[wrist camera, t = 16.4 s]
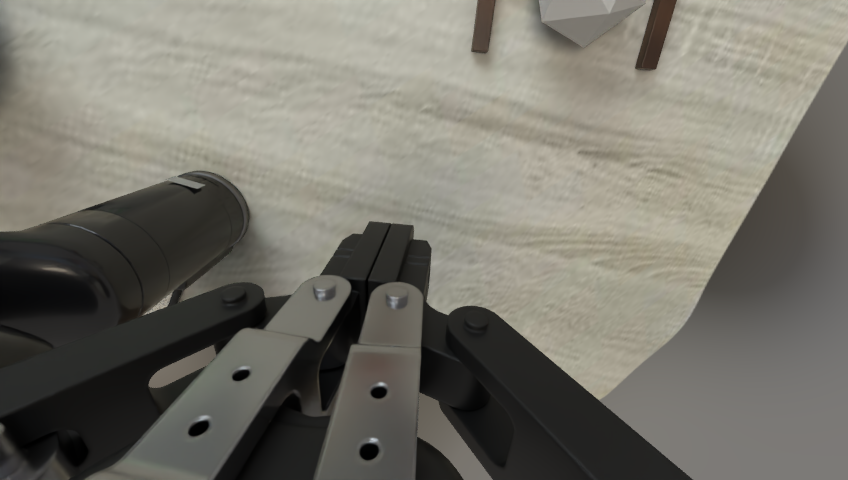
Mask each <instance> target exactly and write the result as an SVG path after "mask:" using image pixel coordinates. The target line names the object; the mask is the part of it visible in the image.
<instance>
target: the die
mask: <svg viewBox="0 0 848 480" xmlns="http://www.w3.org/2000/svg"><path fill="white" fill-rule="evenodd" d="M644 4H645V0H539V5H540V13H541V20H542V22H543V23H545V24H546V25H548V26H549V27H551V28H553V29H554V30H556V31H558V32H559V33H561V34H562V35H564V36H566V37H567V38H569V39H571V40H572V41H574V42H575V43H577V44H579V45H580V46H582V47H586V46H587V45H588V44H590V43H591V42H593V41H594V40H595V39H597V38H598V37H600V36H601V35H602V34H604V33H605V32H607V31H608V30H609V29H611V28H612V27H613V26H615V25H616V24H618V23H619V22H620V21H622V20H623V19H625V18H626V17H627V16H629V15H630V14H632V13H633V12H634V11H636V10H637V9H638V8H640V7H641V6H643V5H644Z"/></svg>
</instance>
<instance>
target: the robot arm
mask: <svg viewBox="0 0 848 480" xmlns="http://www.w3.org/2000/svg"><path fill="white" fill-rule="evenodd" d="M166 180H168V181H165V182H162V183H159V184H156V185H153V186H150V187H147V188H144V189H141V190H138V191H135V192H133V193H130V194H127V195H124V196H121V197H118V198H115V199H112V200H109V201H106V202H104V203H101V204H98V205H95V206H92V207H89V208H86V209H83V210H80V211H78V212H75V213H72V214H69V215H66V216H63V217H60V218H57V219H55V220H52V221H49V222H46V223H43V224H40V225H38V226H34V227H31V228H28V229H25V230H22V231H9V232H0V480H463V478H462V477H461V475H460V474H459V472H458V471H457V469H456V468H455V467H454V466H453V465H452V463H451V462H450V461H449V460H448V459H447V458H446V457H445V456H444V455H443V454H442V453H441V452H440V451H439V450H437V449H436V448H434V447H433V446H432V445H430V444H429V443H427V442H426V441H424V440H422V439H420V438H418V437H417V430H418V409H419V392H420V393H422V394H425V395H427V396H429V397H432V398H434V399H436V400H438V401H439V405H440V408H441V410H442V412H443V413H444V414H445V416H446V417H447V418H448V420H449V421H450V423H451V424H452V425H453V426H454V428H455V429H456V431H457V432H458V433H459V435H460V436H461V437H462V439H463V440H464V441H465V443H466V444H467V445H468V447H469V448H470V449H471V451H472V452H473V453H474V455H475V456H476V458H477V459H478V460H479V461H480V463H481V464H482V466H483V467H484V468H485V469H486V471H487V472H488V474H489V475H490V476H491V478H492V479H493V480H692V479H691V478H690V477H689V476H688V475H686V474H685V473H684V472H683V471H682V470H681V469H680V468H678V467H677V466H676V465H675V464H674V463H672V462H671V461H670V460H669V459H668V458H666V457H665V456H664V455H663V454H661V452H659V451H658V450H657V449H656V448H655V447H653V446H652V445H651V444H650V443H649V442H647V441H646V440H645V439H644V438H643V437H642V436H640V435H639V434H638V433H637V432H635V431H634V430H633V429H632V428H631V427H630V426H628V425H627V424H626V423H625V422H624V421H623V420H621V419H620V418H619V417H618V416H617V415H615V414H614V413H613V412H612V411H611V410H609V409H608V408H607V407H606V406H604V405H603V404H602V403H601V402H600V401H599V400H598V399H596V398H595V397H594V396H593V395H592V394H590V393H589V392H588V391H587V390H586V389H585V388H583V387H582V386H581V385H580V384H579V383H577V382H576V381H575V380H574V379H573V378H571V377H570V376H569V375H568V374H567V373H566V372H564V371H563V370H562V369H561V368H560V367H558V366H557V365H556V364H555V363H554V362H552V361H551V360H550V359H549V358H548V357H547V356H545V355H544V354H543V353H542V352H541V351H539V350H538V349H537V348H536V347H535V346H533V345H532V344H531V343H530V342H529V341H528V340H526V339H525V338H524V337H523V336H522V335H520V334H519V333H518V332H517V331H516V330H514V329H513V328H512V327H511V326H510V325H509V324H507V323H506V322H505V321H504V320H503V319H501V318H500V317H499V316H498V315H497V314H495V313H494V312H492V311H490V310H488V309H486V308H482V307H478V306H464V307H460V308H457V309H455V310H454V311H452V312H451V313H450V314H449V315H446V314H443V313H441V312H438V311H436V310H435V309H433V308H432V307H430V306H429V305H428V304H427V302H426V301H427V295H428V288H429V277H430V264H431V250H432V249H431V247H430V245H429V244H428V242H427V241H424V240H414V239H413V237H414V226H413V225H403V224H391V223H382V222H372V221H370V222H369V223H368V225H367V227H366V229H365V231H364V232H363V234H352V235H350V236H349V237H347V238H345V239H344V240H343V241H342V242H341V244H340V245H339V247H338V250H336V251H335V253H334V255H333V256H332V258H331V259H330V261H329V262H328V264H327V265H326V267H325V269H324V270H323V272H322V273H321V275H320V276H317V277H313V278H311V279H308V280H307V281H305V282H304V283H302V284H301V285H300V286H299V288H298V289H297V290H296V291H295V292H294V294H293V295H288V296H279V297H269V298H265V296H264V291H263V289H262V288H261V287H260V286H258V285H256V284H253V283H245V282H242V283H233V284H229V285H226V286H223V287H220V288H217V289H214V290H212V291H209V292H206V293H204V294H201V295H198V296H195V297H193V298H190V299H187V300H185V301H182V302H179V303H177V302H178V300H179V297H180V295H181V292H182V290H184V289H186V288H188V287H189V286H190V285H191V284H193V283H194V282H195V281H196V280H198V279H199V278H200V277H201V276H202V275H204V274H205V273H206V272H207V271H209V270H210V269H211V268H212V267H213V266H215V265H216V264H217V263H218V262H220V261H221V260H222V259H223V258H224V257H226V256H227V255H228V254H229V253H231V252H232V249H233V245H234V244H236V243H237V242H238V241H239V240H240V239H241V238H242V237H243V236H244V234H245V232H246V230H247V227H248V222H249V214H248V209H247V206H246V203H245V201H244V199H243V197H242V195H241V194H240V193H239V191H238V190H237V189H236V188H235V187H234V186H233V185H232V184H231V183H230V182H228V181H227V180H225V179H224V178H222V177H220V176H218V175H216V174H213V173H210V172H204V171H193V172H188V173H185V174H182V175H179V176H177V177H176V176H175V177H172V178H169V179H166ZM173 291H174V292H173ZM171 292H173V294H172V297H171V300H170V302H169V305H168V307H165V308H163V309H160V310H157V311H155V312H152V313H149V314H146V315H144V314H145V313H146V312H147V311H149V310H150V309H151V308H153V307H154V306H155V305H156V304H158V303H159V302H160V301H161V300H162V299H164V298H165V297H166V296H168V295H169V294H170V293H171ZM142 315H144V316H142ZM211 345H214V348H215V351H216V357H215V358H214V359H213V360H212V361H211V362H210V363H209V364H208V365H207V366H205V367H203V368H201V369H199V370H197V371H195V372H193V373H191V374H189V375H187V376H185V377H183V378H181V379H179V380H176V381H175V382H172V383H170V384H168V385H166V386H164V387H161V388H150V387H149V386H148V384H149V381H150V379H151V377H152V376H153V375H154V374H155V373H156V372H157V371H158V370H160V369H162V368H164V367H166V366H168V365H170V364H172V363H174V362H177V361H179V360H181V359H183V358H185V357H187V356H190V355H192V354H194V353H196V352H198V351H201V350H203V349H205V348H207V347H209V346H211Z"/></svg>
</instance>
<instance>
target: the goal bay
mask: <svg viewBox="0 0 848 480" xmlns="http://www.w3.org/2000/svg"><path fill="white" fill-rule="evenodd" d="M676 1H677V0H654V3H653V7H652V11H651V14H650V18H649V21H648V25H647V28H646V32H645V35H644V39H643V43H642V46H641V50H640V53H639V57H638V60H637V64H636V67H635V68H636V69H645V70H654V69H656V67H657V64H658V61H659V57H660V54H661V51H662V48H663V44H664V41H665V38H666V34H667V31H668V28H669V24H670V21H671V18H672V14H673V11H674V8H675V4H676ZM494 6H495V0H478V2H477V10H476V18H475V26H474V34H473V42H472V50H471V51H472V52H480V53H487V52H488V48H489V41H490V34H491V27H492V20H493V13H494Z"/></svg>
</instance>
